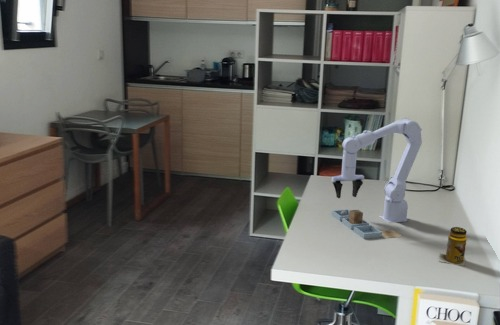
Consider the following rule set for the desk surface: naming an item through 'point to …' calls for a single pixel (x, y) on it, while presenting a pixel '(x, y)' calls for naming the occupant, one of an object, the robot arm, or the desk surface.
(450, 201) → the desk surface
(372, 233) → the dish
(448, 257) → the condiment
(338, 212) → the dish
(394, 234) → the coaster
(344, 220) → the dish
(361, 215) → the letter block
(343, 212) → the grey ball
